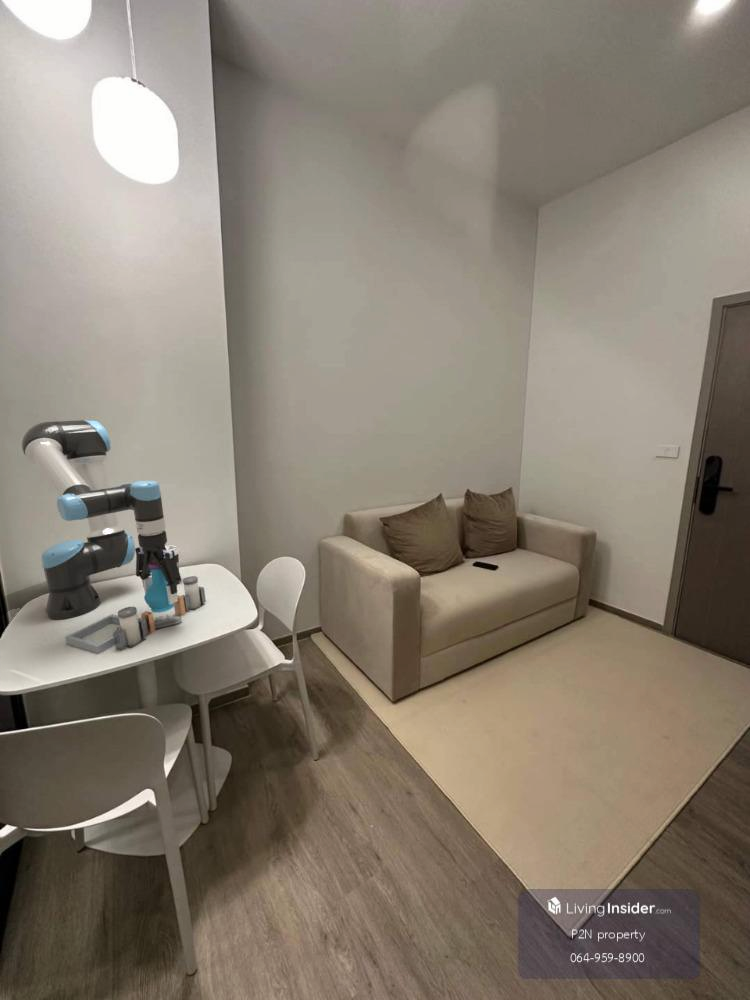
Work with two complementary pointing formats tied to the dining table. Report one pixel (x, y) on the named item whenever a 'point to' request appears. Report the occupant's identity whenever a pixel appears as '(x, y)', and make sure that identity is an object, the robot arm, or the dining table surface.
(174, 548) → the coffee cup
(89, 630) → the tray
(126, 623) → the canister
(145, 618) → the clip rack
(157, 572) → the perfume bottle
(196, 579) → the canister
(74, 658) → the dining table surface
